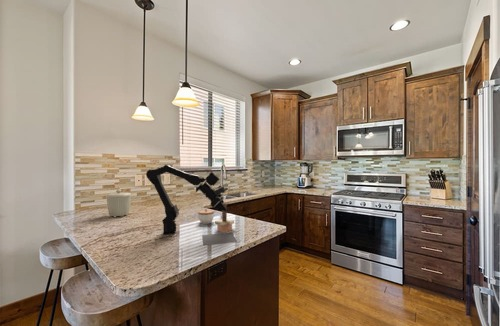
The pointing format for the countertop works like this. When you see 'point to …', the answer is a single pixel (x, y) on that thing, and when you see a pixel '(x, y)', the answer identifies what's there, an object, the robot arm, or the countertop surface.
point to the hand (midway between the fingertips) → (226, 209)
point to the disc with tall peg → (224, 218)
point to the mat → (218, 239)
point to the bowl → (224, 228)
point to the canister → (118, 203)
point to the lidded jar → (205, 216)
